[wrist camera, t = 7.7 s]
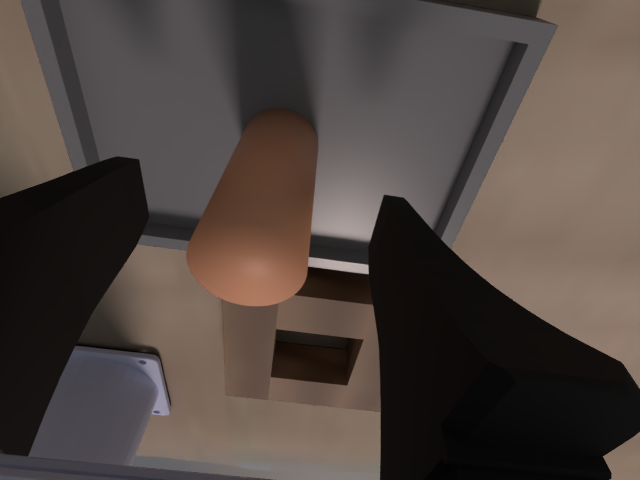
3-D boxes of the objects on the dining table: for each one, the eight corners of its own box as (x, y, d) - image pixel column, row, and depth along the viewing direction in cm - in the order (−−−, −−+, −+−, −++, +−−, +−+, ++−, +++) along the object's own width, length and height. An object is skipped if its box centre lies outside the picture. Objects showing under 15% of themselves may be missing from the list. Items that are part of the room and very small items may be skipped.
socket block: (234, 360, 25) (225, 395, 23) (233, 251, 19) (221, 285, 17) (377, 376, 26) (380, 412, 24) (421, 275, 20) (431, 312, 18)
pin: (243, 175, 15) (193, 300, 10) (241, 103, 14) (178, 210, 8) (314, 183, 16) (303, 311, 10) (322, 113, 14) (312, 224, 8)
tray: (110, 219, 18) (94, 238, 17) (33, -73, 11) (-3, -75, 10) (428, 262, 19) (433, 283, 18) (537, 17, 12) (558, 24, 11)
